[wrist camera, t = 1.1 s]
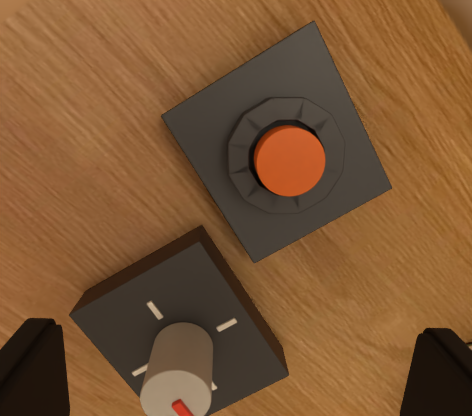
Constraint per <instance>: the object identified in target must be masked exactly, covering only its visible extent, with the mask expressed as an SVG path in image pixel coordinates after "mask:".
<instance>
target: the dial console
mask: <svg viewBox="0 0 472 416" xmlns="http://www.w3.org/2000/svg"><path fill="white" fill-rule="evenodd" d="M69 316H70V317H71V318H72V319H73V320H74V322H75V323H76V324H77V325H78V326H79V327H80V329H81V330H82V331H83V332H84V333H85V334H86V336H87V337H88V338H89V339H90V340H91V342H92V343H93V344H94V345H95V346H96V347H97V349H98V350H99V351H100V352H101V353H102V354H103V356H104V357H105V358H106V359H107V360H108V361H109V363H110V364H111V365H112V366H113V367H114V368H115V370H116V371H117V372H118V373H119V374H120V376H121V377H122V378H123V379H124V380H125V381H126V383H127V384H128V385H129V386H130V387H131V388H132V390H133V391H134V392H135V393H136V394H137V395H138V397H139V398H140V393H141V389H142V385H143V382H144V378H145V374H146V370H147V367H148V363H149V359H150V356H151V352H152V348H153V345H154V341H155V338H156V336H157V335H158V334H159V332H160V331H161V330H163V329H164V328H165V327H167V326H169V325H171V324H174V323H180V322H186V323H192V324H195V325H197V326H199V327H201V328H202V329H204V330H205V331H206V332H207V333H208V334H209V336H210V338H211V340H212V343H213V366H212V397H211V405H210V407H209V409H208V411H207V413H206V414H205V415H204V416H209V415H211V414H213V413H215V412H217V411H219V410H221V409H223V408H225V407H227V406H229V405H231V404H233V403H235V402H237V401H239V400H241V399H243V398H245V397H247V396H249V395H251V394H253V393H255V392H257V391H259V390H261V389H263V388H265V387H267V386H269V385H271V384H273V383H275V382H277V381H279V380H281V379H283V378H285V377H287V376H289V372H288V368H287V364H286V360H285V356H284V352H283V348H282V346H281V345H280V343H279V342H278V340H277V338H276V337H275V335H274V334H273V332H272V331H271V329H270V328H269V326H268V325H267V323H266V322H265V320H264V319H263V317H262V316H261V314H260V313H259V311H258V310H257V308H256V307H255V305H254V303H253V302H252V300H251V299H250V297H249V296H248V294H247V293H246V291H245V290H244V288H243V287H242V285H241V284H240V282H239V281H238V279H237V278H236V276H235V275H234V273H233V272H232V270H231V269H230V267H229V265H228V264H227V262H226V261H225V259H224V258H223V256H222V255H221V253H220V252H219V250H218V249H217V247H216V246H215V244H214V243H213V241H212V240H211V238H210V237H209V235H208V234H207V232H206V231H205V229H204V227H203V226H202V225H201V226H199V227H197V228H195V229H194V230H192V231H190V232H188V233H187V234H185V235H183V236H181V237H180V238H178V239H176V240H174V241H173V242H171V243H169V244H167V245H166V246H164V247H162V248H160V249H159V250H157V251H155V252H153V253H152V254H150V255H148V256H146V257H145V258H143V259H141V260H139V261H138V262H136V263H134V264H132V265H131V266H129V267H127V268H125V269H124V270H122V271H120V272H118V273H117V274H115V275H113V276H111V277H110V278H108V279H106V280H104V281H103V282H101V283H99V284H97V285H96V286H94V287H92V288H90V289H89V290H87V291H85V292H84V294H83V295H82V297H81V298H80V300H79V301H78V303H77V304H76V305H75V307H74V308H73V310H72V311H71V313H70V314H69Z"/></svg>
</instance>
